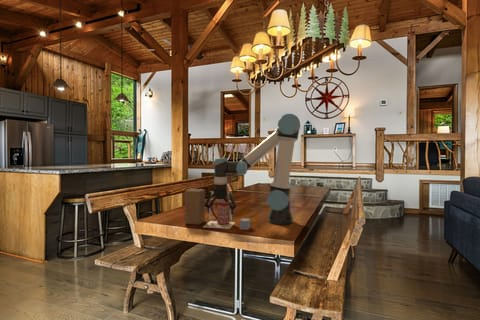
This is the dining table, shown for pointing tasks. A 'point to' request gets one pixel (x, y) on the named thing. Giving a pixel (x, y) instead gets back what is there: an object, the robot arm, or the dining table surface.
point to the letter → (218, 225)
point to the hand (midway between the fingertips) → (220, 219)
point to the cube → (244, 224)
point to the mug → (222, 212)
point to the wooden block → (194, 206)
